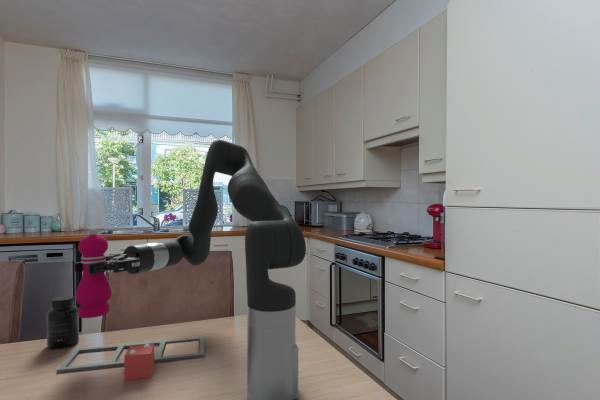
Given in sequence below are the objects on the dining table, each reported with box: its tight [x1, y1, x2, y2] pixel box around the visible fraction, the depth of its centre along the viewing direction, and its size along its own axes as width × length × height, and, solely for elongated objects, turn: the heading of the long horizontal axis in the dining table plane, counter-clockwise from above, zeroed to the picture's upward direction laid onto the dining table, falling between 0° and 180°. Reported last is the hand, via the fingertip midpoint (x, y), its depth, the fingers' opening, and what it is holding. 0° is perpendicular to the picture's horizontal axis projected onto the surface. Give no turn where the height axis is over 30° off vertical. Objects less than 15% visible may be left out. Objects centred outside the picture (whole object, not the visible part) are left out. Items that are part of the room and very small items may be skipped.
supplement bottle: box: [46, 294, 80, 350], centre depth 89 cm, size 7×7×12 cm
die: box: [123, 344, 155, 381], centre depth 74 cm, size 5×5×6 cm
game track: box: [56, 336, 206, 374], centre depth 83 cm, size 31×11×1 cm, turn 105°
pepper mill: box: [74, 227, 112, 319], centre depth 81 cm, size 7×7×20 cm
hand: (81, 268), depth 78 cm, fingers closed on pepper mill, 4 cm apart
